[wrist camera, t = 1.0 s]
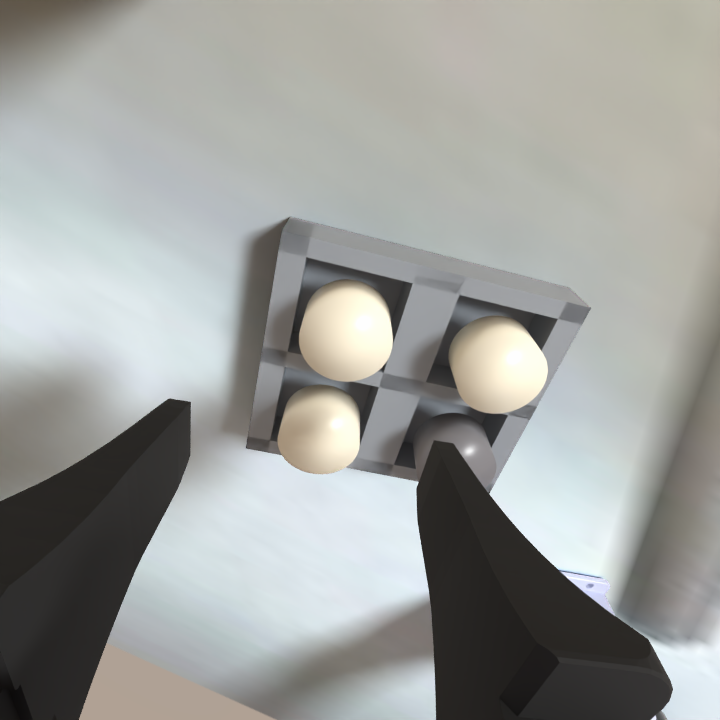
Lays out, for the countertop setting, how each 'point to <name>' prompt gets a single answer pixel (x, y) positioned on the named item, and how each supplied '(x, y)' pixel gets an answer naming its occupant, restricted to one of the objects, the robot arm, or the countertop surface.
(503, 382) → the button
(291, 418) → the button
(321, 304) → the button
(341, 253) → the button board
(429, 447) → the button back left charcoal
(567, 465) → the countertop surface
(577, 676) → the robot arm
